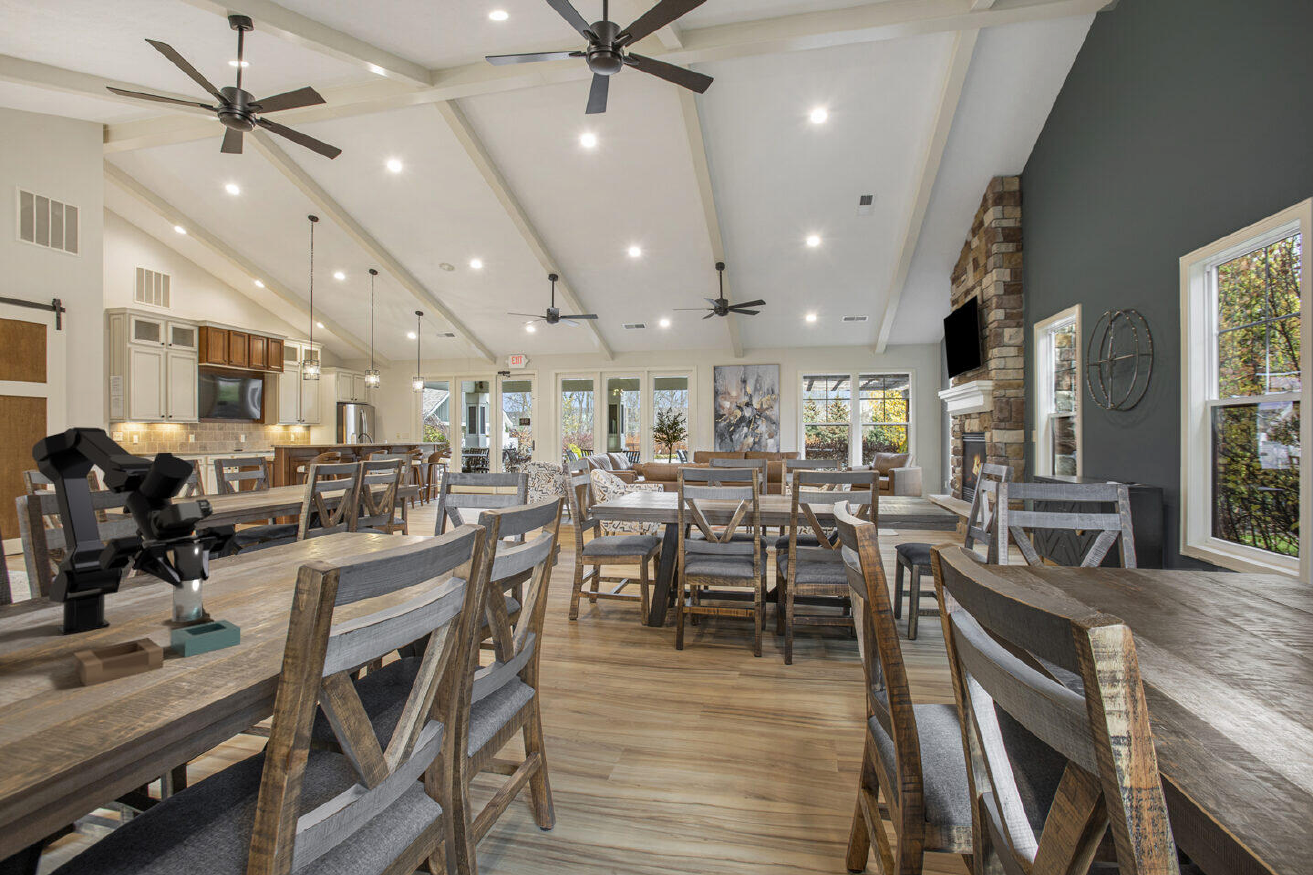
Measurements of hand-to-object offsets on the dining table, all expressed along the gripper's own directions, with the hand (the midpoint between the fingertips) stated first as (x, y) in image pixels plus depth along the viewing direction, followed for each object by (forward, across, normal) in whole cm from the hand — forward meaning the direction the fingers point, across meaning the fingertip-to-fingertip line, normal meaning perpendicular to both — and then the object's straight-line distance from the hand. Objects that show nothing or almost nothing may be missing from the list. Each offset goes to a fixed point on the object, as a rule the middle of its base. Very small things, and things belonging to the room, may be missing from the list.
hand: (192, 581), depth 99 cm
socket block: (+8, +3, +10) cm, 13 cm away
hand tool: (-1, +9, +20) cm, 22 cm away
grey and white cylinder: (+4, 0, +6) cm, 7 cm away
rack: (+7, -9, +11) cm, 16 cm away
